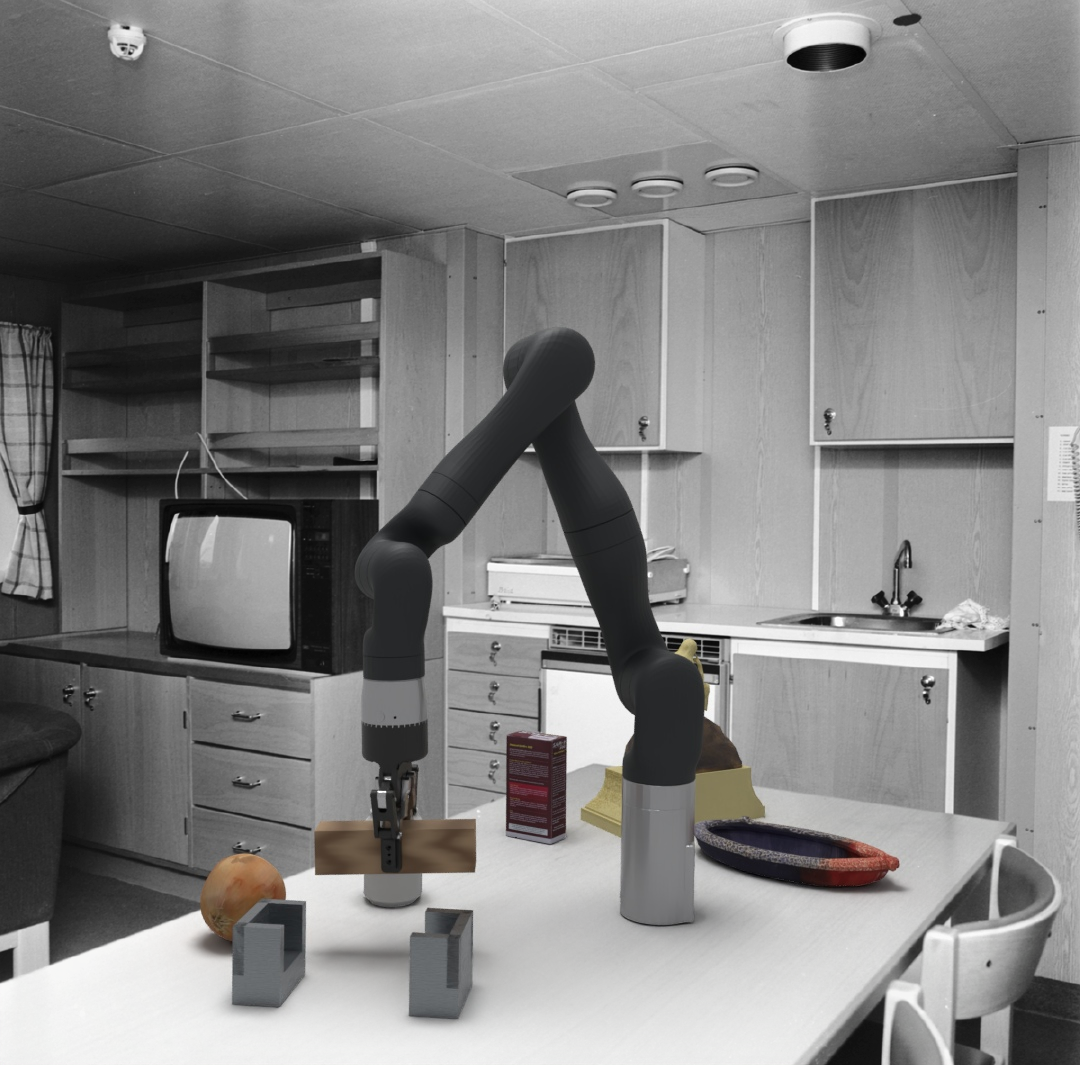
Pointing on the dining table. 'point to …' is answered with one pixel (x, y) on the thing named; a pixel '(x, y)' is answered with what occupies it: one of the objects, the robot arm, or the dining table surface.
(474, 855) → the rail
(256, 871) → the onion
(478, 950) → the dining table surface
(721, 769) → the decorative clock
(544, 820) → the supplement box
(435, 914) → the cup brackets
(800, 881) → the dish
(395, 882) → the can
